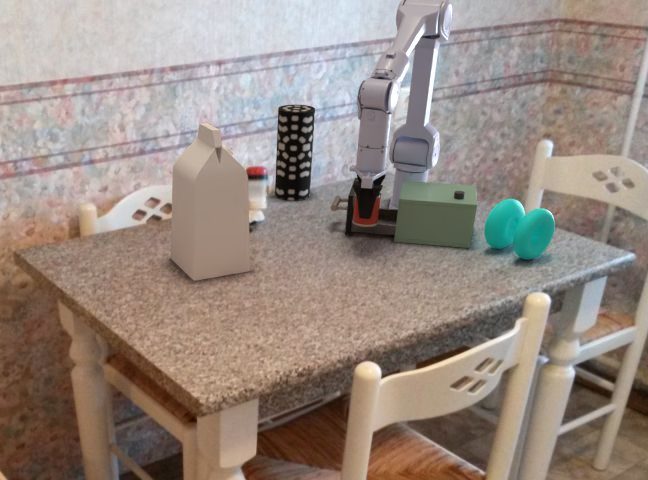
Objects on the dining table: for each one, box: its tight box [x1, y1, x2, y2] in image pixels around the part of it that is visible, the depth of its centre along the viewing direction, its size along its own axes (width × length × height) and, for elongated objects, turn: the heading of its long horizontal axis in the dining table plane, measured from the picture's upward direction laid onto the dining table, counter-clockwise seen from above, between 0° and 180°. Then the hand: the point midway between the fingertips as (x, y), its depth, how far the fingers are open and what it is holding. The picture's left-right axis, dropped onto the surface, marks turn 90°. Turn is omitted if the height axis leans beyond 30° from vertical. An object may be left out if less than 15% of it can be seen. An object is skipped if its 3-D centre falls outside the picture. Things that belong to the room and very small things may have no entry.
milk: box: [170, 122, 251, 282], centre depth 150 cm, size 12×12×26 cm
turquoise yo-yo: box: [483, 198, 556, 261], centre depth 159 cm, size 10×10×10 cm
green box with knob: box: [393, 181, 478, 249], centre depth 168 cm, size 13×15×10 cm
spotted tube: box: [274, 104, 316, 201], centre depth 189 cm, size 8×8×20 cm
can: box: [352, 192, 382, 227], centre depth 162 cm, size 5×5×6 cm
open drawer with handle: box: [330, 177, 398, 236], centre depth 171 cm, size 13×18×8 cm
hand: (366, 213), depth 162 cm, fingers closed on can, 5 cm apart
